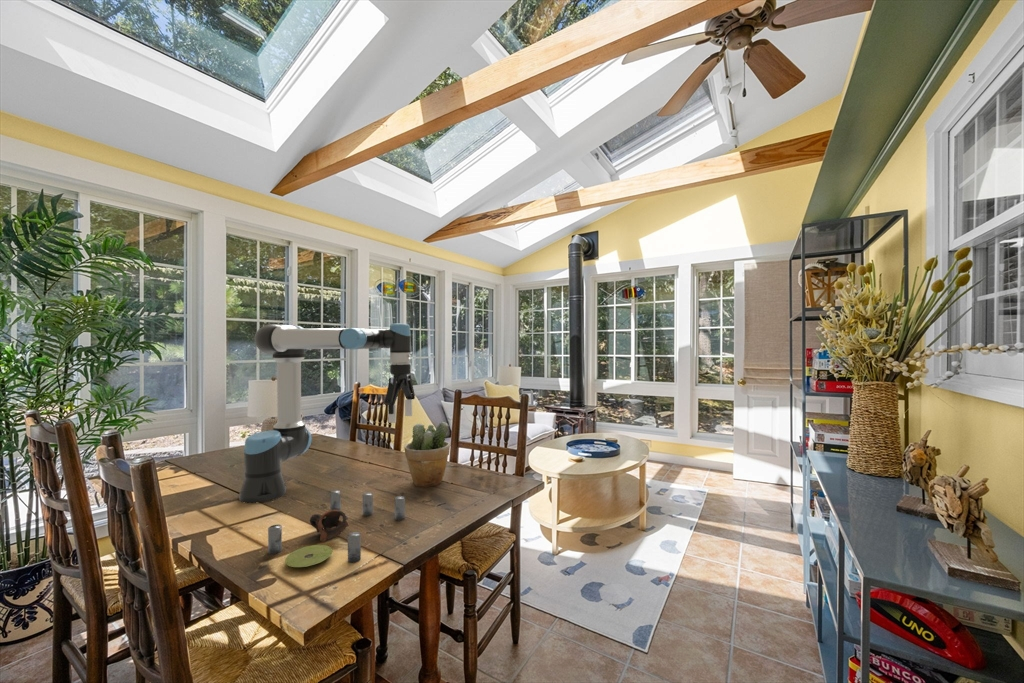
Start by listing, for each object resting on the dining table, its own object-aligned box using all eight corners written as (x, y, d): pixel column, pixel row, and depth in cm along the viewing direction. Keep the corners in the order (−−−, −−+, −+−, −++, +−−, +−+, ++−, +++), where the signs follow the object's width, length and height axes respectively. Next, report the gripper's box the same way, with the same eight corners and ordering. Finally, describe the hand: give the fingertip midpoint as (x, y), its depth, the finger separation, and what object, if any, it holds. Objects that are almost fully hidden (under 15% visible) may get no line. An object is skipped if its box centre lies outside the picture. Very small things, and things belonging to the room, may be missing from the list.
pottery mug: (354, 528, 129) (354, 510, 125) (338, 555, 120) (338, 537, 117) (317, 518, 129) (316, 500, 125) (299, 544, 121) (297, 526, 117)
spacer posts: (265, 555, 112) (265, 529, 112) (334, 510, 142) (334, 489, 142) (356, 565, 107) (356, 538, 107) (408, 516, 137) (407, 495, 137)
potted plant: (404, 493, 158) (404, 427, 158) (404, 477, 176) (403, 418, 176) (452, 488, 163) (452, 424, 163) (447, 473, 181) (447, 416, 181)
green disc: (330, 547, 116) (330, 540, 116) (334, 567, 106) (334, 559, 106) (285, 558, 111) (285, 550, 111) (284, 579, 101) (284, 571, 101)
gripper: (393, 365, 146) (394, 426, 146) (422, 362, 170) (423, 413, 170) (374, 365, 147) (374, 425, 147) (405, 362, 172) (406, 413, 172)
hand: (400, 419), depth 159 cm, fingers open, 13 cm apart
